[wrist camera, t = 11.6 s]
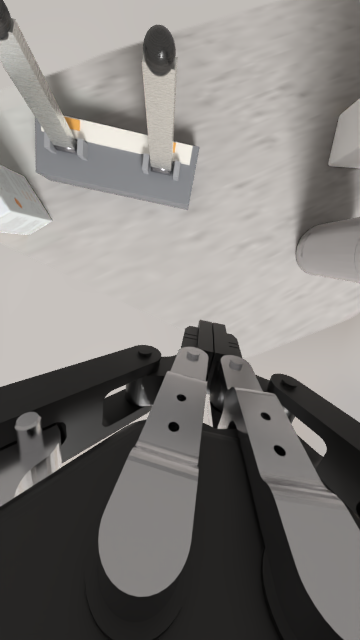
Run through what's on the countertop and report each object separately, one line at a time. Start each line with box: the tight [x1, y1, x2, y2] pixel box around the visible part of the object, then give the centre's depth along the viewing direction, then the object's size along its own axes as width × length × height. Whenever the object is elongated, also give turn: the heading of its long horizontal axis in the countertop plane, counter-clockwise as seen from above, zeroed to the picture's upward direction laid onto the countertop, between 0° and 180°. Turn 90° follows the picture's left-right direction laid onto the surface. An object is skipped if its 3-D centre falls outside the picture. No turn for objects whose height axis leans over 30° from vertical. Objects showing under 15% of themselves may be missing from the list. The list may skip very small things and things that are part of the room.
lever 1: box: [0, 0, 77, 155], centre depth 24 cm, size 3×3×16 cm
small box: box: [0, 165, 52, 235], centre depth 33 cm, size 8×6×10 cm
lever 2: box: [142, 25, 177, 176], centre depth 25 cm, size 3×3×16 cm
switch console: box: [35, 115, 199, 210], centre depth 34 cm, size 24×8×6 cm, turn 79°
